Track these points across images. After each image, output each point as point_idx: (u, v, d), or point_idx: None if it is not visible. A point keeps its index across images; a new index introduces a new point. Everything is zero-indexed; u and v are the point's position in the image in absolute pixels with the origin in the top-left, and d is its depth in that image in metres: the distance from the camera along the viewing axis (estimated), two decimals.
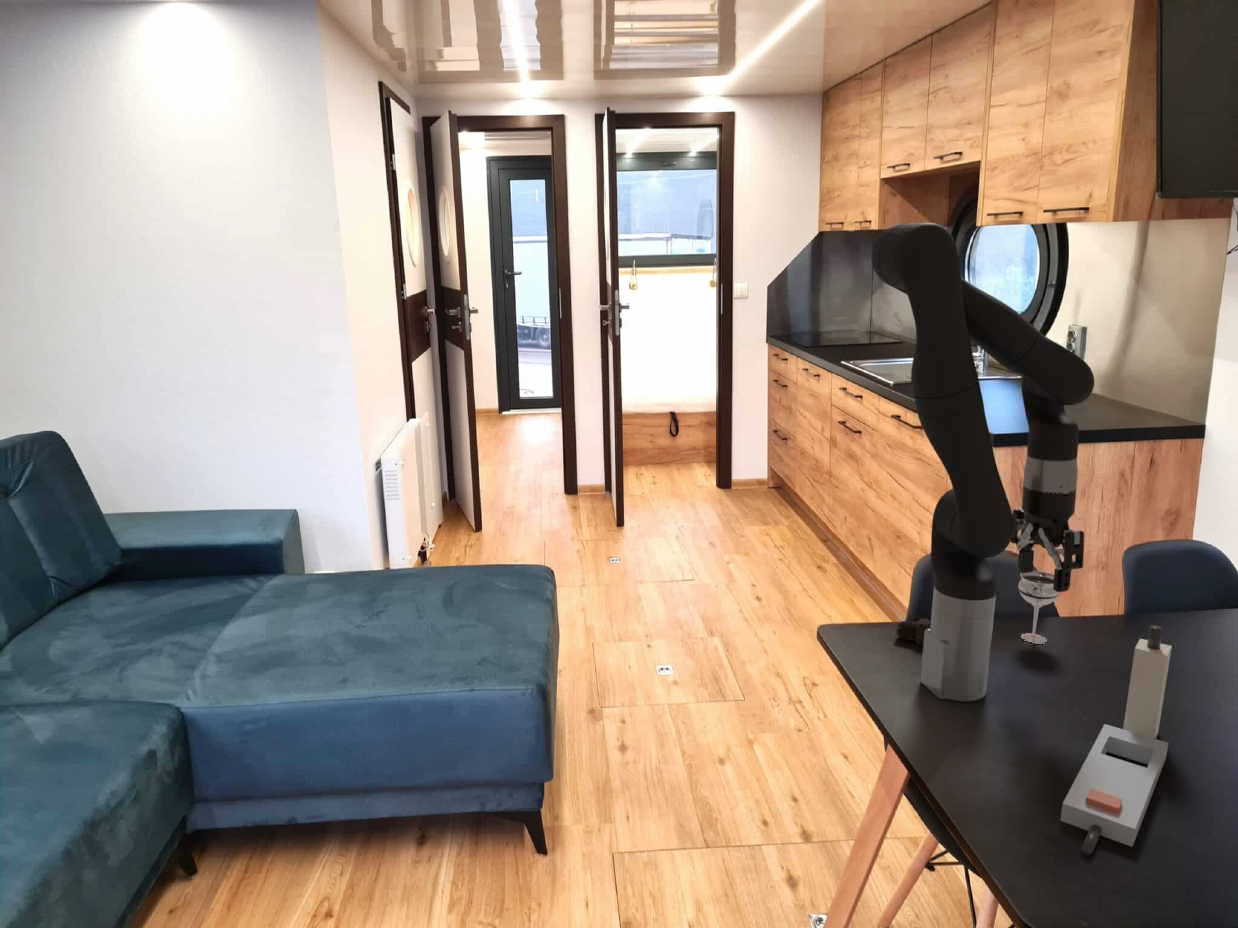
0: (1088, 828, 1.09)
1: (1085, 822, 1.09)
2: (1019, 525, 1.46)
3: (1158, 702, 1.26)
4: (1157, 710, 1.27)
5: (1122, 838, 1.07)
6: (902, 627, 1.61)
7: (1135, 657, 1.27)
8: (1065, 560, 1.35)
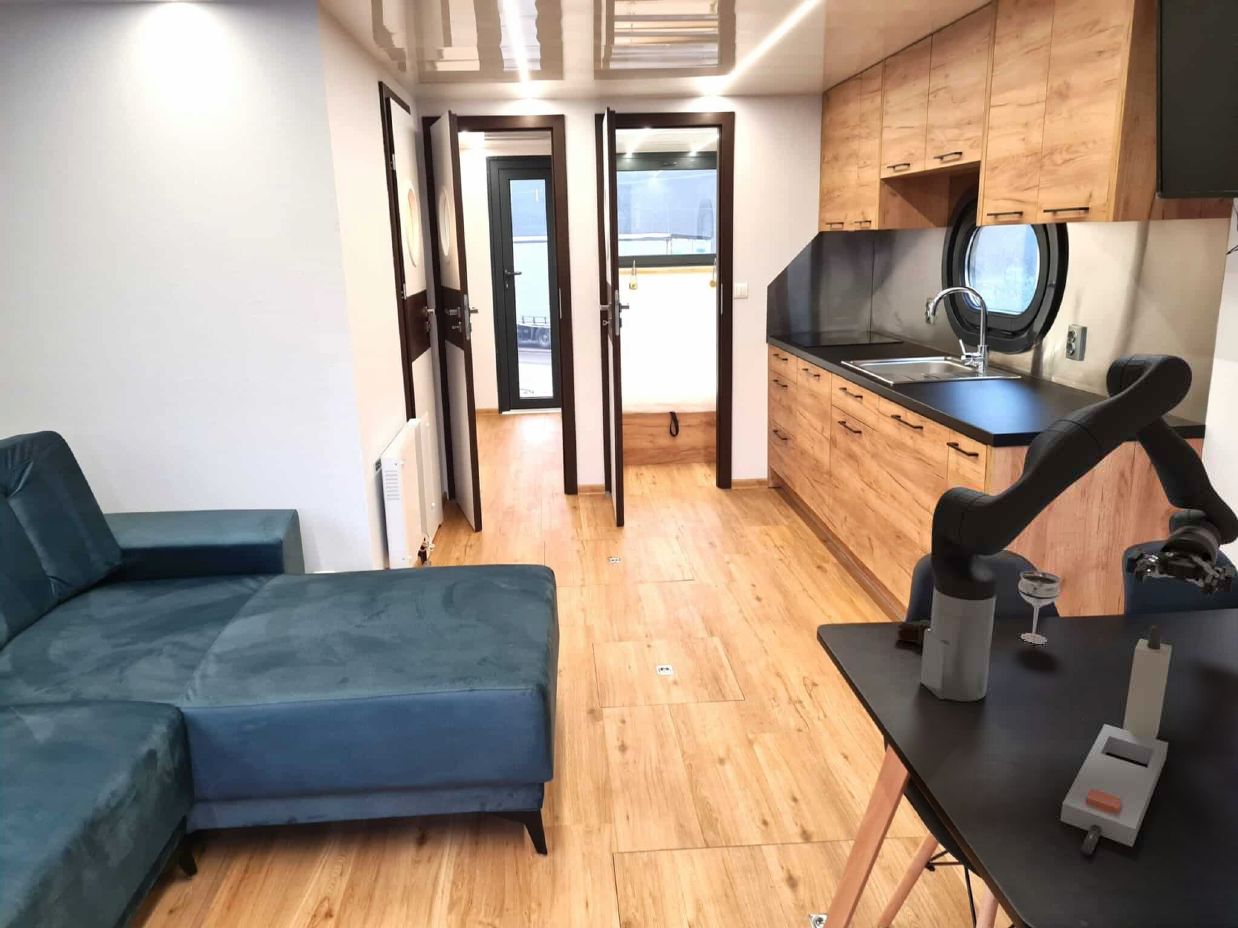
0: (1088, 828, 1.09)
1: (1085, 822, 1.09)
2: (1140, 557, 1.43)
3: (1158, 702, 1.26)
4: (1157, 710, 1.27)
5: (1122, 838, 1.07)
6: (903, 629, 1.60)
7: (1135, 657, 1.27)
8: (1227, 573, 1.34)
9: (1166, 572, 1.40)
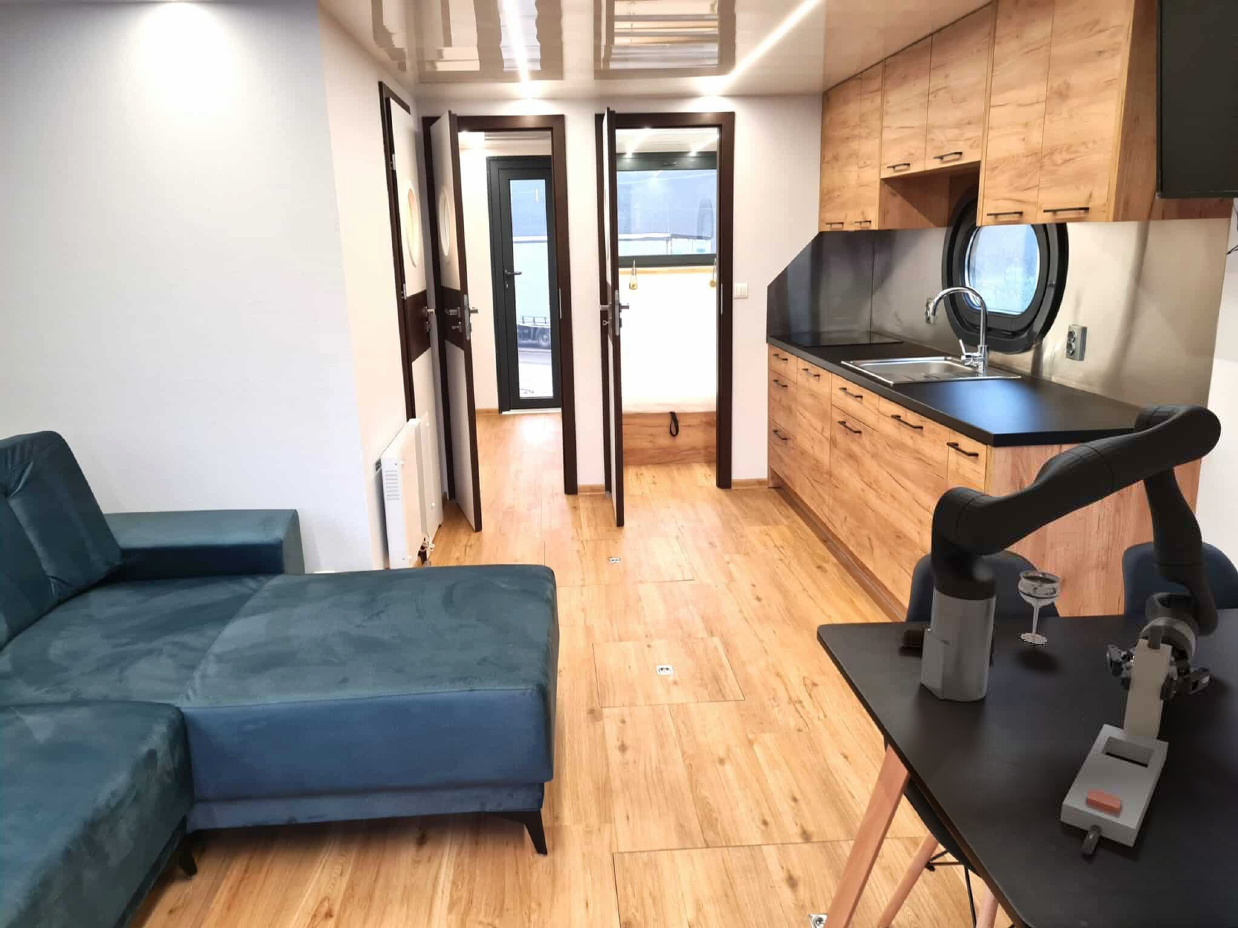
0: (1088, 828, 1.09)
1: (1085, 822, 1.09)
2: None
3: (1158, 702, 1.26)
4: (1157, 710, 1.27)
5: (1122, 838, 1.07)
6: (909, 635, 1.57)
7: (1135, 657, 1.27)
8: (1189, 675, 1.28)
9: None
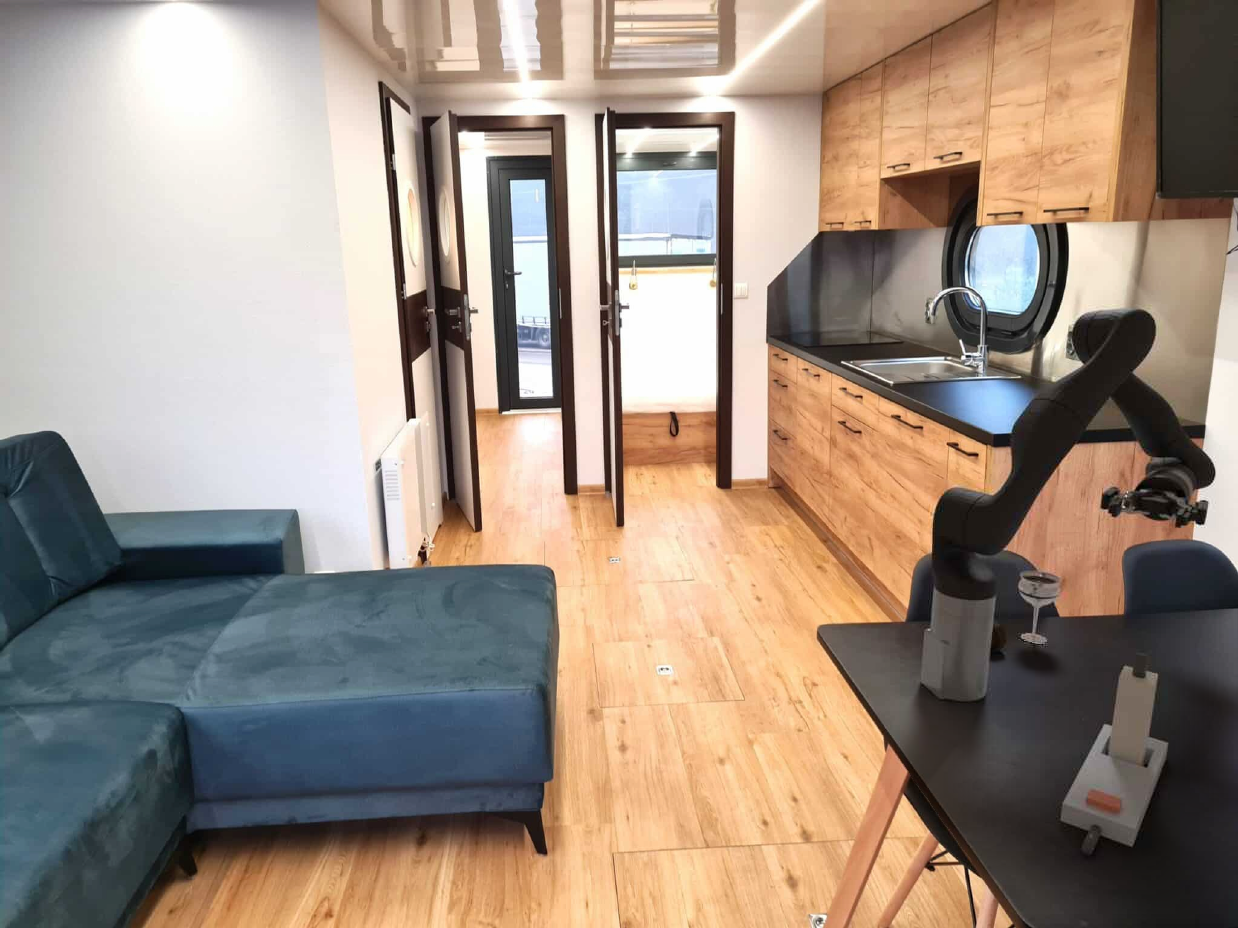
0: (1088, 828, 1.09)
1: (1085, 822, 1.09)
2: (1114, 494, 1.44)
3: (1144, 734, 1.18)
4: (1143, 743, 1.19)
5: (1122, 838, 1.07)
6: None
7: (1119, 686, 1.19)
8: (1200, 507, 1.35)
9: (1140, 508, 1.41)
